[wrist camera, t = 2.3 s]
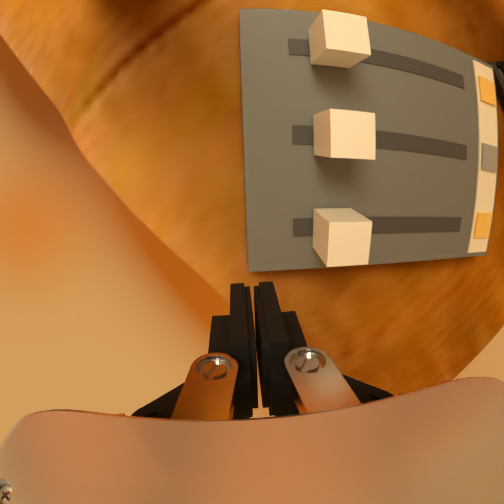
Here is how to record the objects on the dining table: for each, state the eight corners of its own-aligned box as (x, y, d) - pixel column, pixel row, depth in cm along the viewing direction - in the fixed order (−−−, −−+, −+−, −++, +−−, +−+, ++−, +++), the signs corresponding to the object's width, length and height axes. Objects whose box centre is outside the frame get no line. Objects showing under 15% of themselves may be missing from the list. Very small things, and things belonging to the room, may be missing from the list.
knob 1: (308, 30, 16) (322, 9, 13) (345, 34, 17) (366, 17, 13) (310, 64, 18) (326, 48, 14) (349, 68, 18) (371, 55, 14)
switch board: (238, 20, 18) (239, 6, 15) (478, 68, 19) (495, 65, 16) (247, 260, 26) (248, 274, 23) (472, 247, 27) (488, 256, 24)
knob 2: (313, 114, 19) (329, 108, 15) (351, 117, 19) (375, 113, 15) (313, 155, 20) (330, 157, 16) (352, 156, 20) (375, 159, 16)
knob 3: (313, 208, 21) (329, 222, 18) (350, 208, 22) (372, 221, 18) (312, 246, 22) (327, 267, 19) (348, 244, 23) (368, 264, 19)
